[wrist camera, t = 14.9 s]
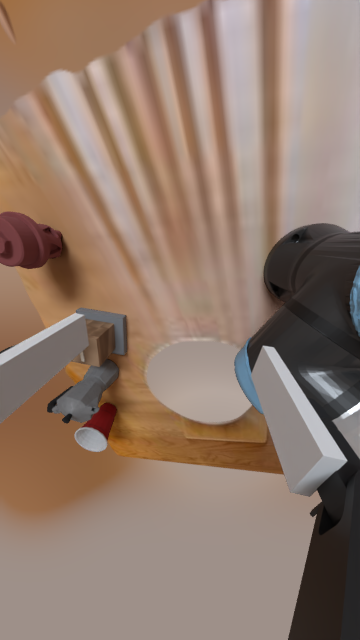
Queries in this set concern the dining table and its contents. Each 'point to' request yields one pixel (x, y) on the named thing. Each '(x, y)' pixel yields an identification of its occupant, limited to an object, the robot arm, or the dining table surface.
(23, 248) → the mechanical component
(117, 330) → the shaft stand
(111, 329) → the cardboard box
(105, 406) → the plastic cup
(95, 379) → the coffeepot
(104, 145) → the dining table surface
